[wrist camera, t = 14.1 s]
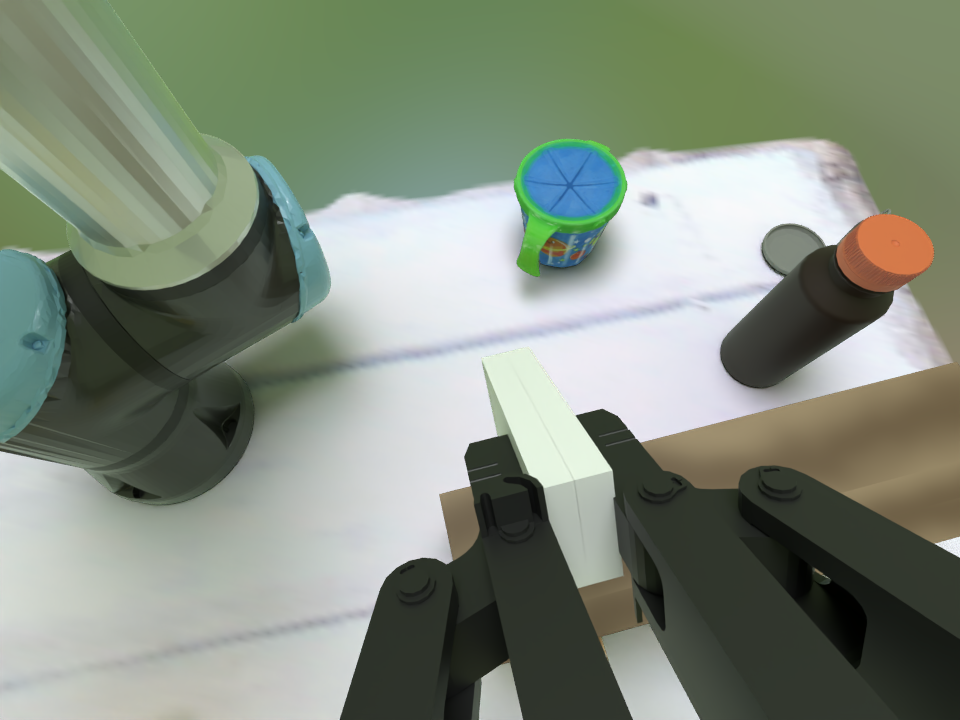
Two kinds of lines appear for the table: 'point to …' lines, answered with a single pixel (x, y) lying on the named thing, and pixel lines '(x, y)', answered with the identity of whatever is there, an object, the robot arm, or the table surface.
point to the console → (805, 464)
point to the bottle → (826, 300)
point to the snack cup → (566, 201)
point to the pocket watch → (792, 245)
